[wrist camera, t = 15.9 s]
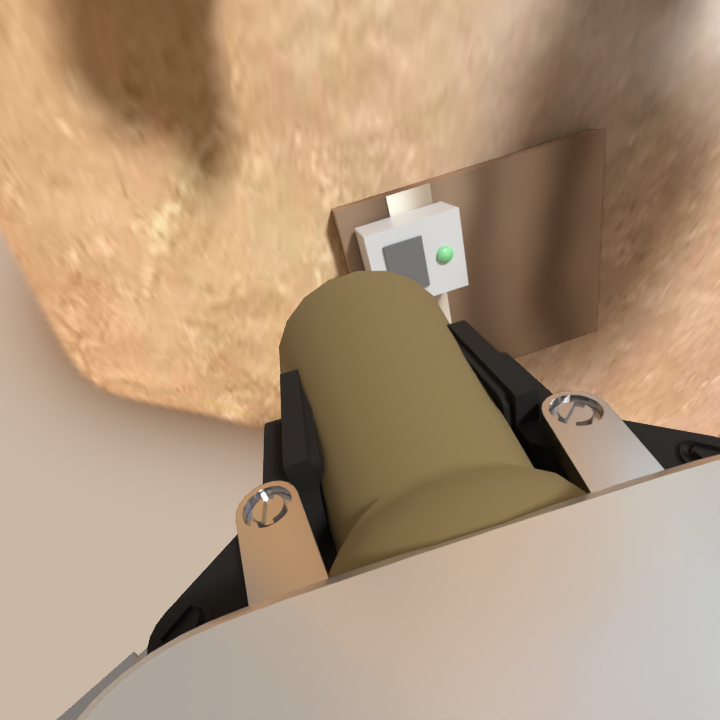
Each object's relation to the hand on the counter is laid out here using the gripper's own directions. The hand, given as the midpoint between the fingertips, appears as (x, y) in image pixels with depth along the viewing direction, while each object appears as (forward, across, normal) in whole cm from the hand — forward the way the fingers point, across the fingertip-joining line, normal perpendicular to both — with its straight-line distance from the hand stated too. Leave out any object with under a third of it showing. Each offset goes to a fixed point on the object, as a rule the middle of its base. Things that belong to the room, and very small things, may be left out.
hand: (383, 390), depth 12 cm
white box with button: (+17, -6, +1) cm, 18 cm away
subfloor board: (+19, -11, +5) cm, 23 cm away
